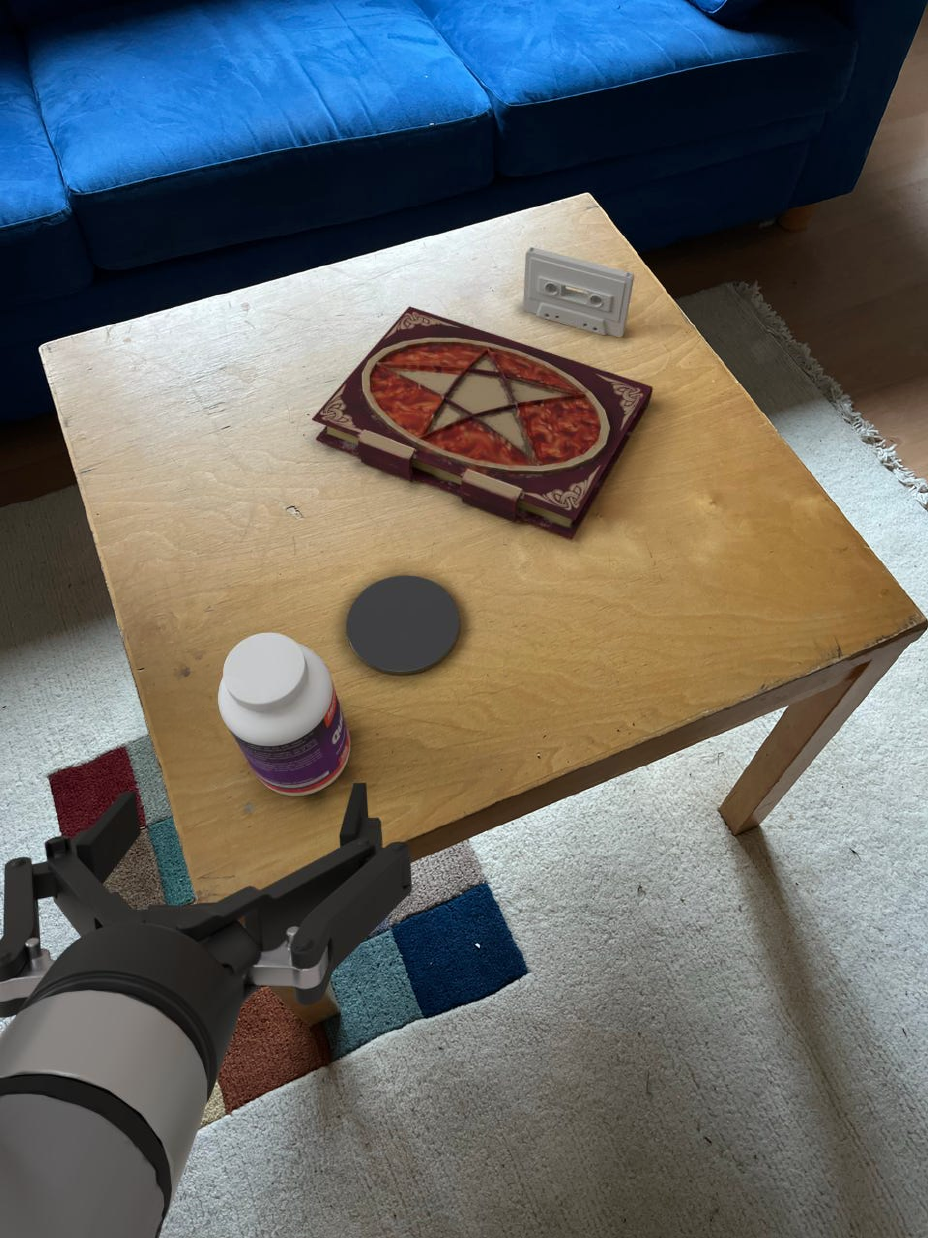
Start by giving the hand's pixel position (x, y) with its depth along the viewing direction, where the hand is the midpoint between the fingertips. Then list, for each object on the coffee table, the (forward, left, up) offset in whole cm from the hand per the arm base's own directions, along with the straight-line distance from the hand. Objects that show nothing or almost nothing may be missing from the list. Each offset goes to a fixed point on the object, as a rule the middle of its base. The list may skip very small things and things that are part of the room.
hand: (247, 808), depth 51 cm
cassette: (+16, +65, -16) cm, 69 cm away
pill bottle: (-2, +10, -16) cm, 19 cm away
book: (+8, +48, -16) cm, 51 cm away
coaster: (+4, +23, -16) cm, 28 cm away
